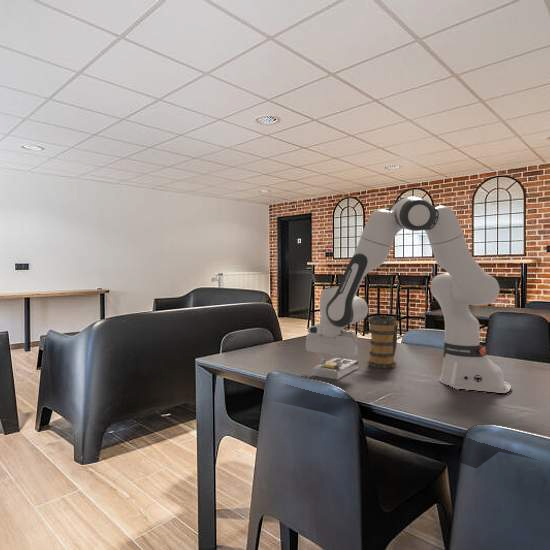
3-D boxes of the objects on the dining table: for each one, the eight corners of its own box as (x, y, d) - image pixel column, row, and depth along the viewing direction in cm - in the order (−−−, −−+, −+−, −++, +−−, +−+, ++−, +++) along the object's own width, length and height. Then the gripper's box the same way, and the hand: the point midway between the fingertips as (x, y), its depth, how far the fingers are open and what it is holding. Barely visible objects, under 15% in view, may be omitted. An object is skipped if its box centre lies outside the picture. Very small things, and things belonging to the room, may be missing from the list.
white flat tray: (358, 368, 165) (358, 360, 164) (337, 379, 148) (337, 371, 148) (335, 364, 170) (335, 357, 170) (312, 375, 153) (312, 367, 153)
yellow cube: (333, 377, 152) (334, 365, 151) (322, 376, 154) (323, 364, 154) (338, 375, 155) (339, 363, 155) (328, 373, 158) (328, 362, 158)
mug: (359, 365, 170) (360, 317, 170) (383, 359, 181) (384, 314, 181) (386, 371, 160) (386, 320, 160) (409, 364, 172) (410, 317, 171)
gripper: (360, 330, 151) (360, 367, 152) (311, 325, 162) (311, 360, 163) (354, 332, 146) (353, 371, 146) (303, 327, 157) (303, 363, 157)
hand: (330, 365), depth 155 cm, fingers open, 5 cm apart
